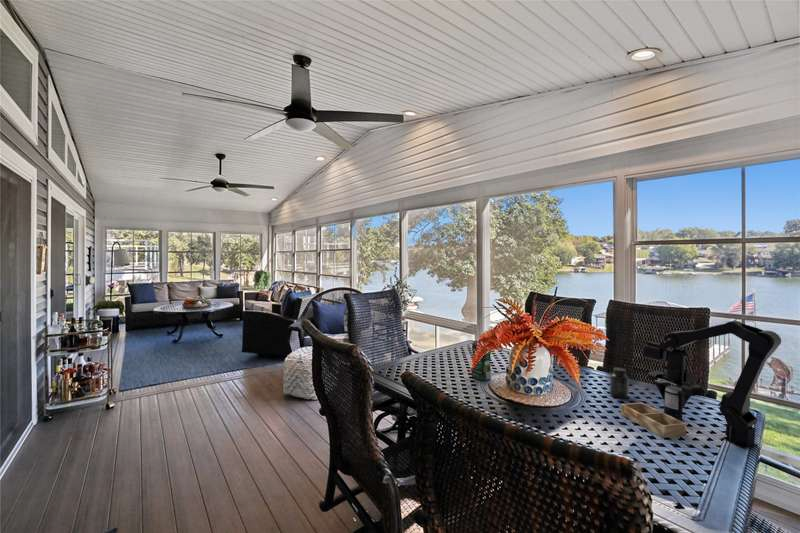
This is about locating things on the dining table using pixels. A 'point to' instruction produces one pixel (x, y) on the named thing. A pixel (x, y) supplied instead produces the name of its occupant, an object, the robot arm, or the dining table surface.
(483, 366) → the coffee jar
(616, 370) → the supplement bottle
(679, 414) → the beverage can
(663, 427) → the caddy
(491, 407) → the dining table surface
